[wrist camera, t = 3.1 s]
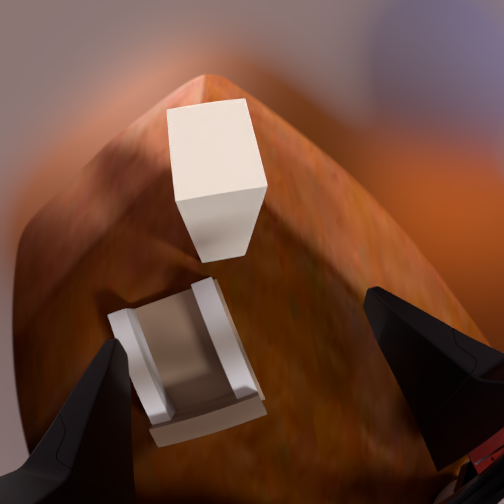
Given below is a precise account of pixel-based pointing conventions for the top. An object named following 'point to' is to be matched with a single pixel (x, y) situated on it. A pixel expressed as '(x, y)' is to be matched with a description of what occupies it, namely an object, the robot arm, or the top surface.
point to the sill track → (188, 364)
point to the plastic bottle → (445, 492)
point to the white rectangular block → (216, 175)
